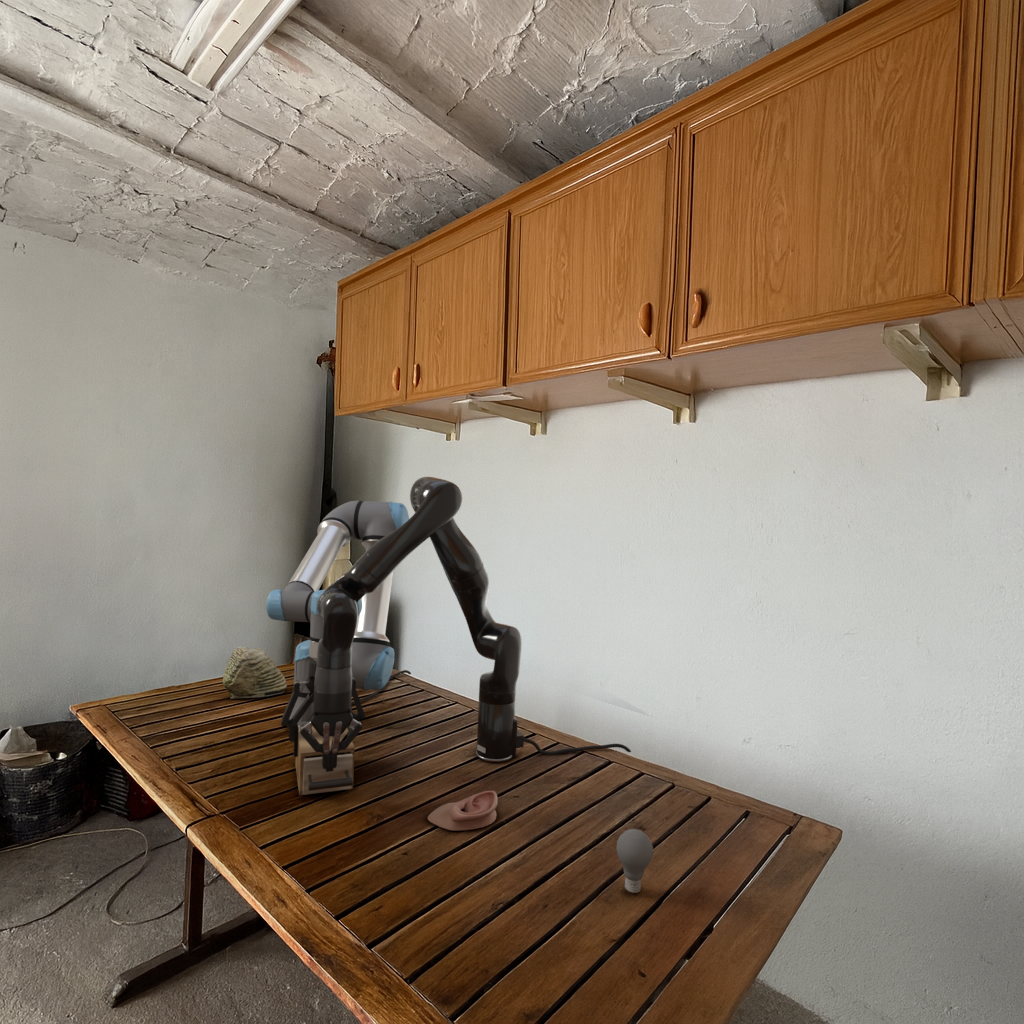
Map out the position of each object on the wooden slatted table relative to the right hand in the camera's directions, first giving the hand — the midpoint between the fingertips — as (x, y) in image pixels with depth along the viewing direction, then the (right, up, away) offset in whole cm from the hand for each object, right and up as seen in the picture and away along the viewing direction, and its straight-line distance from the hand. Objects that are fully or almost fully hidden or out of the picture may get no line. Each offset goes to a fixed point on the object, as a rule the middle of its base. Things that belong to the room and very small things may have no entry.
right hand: (329, 769), depth 131 cm
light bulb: (+58, -10, -25) cm, 64 cm away
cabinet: (-5, -7, +12) cm, 15 cm away
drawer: (-3, -6, +7) cm, 10 cm away
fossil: (-43, -4, +67) cm, 80 cm away
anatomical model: (+28, -8, -4) cm, 29 cm away
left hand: (-6, -2, +15) cm, 17 cm away
